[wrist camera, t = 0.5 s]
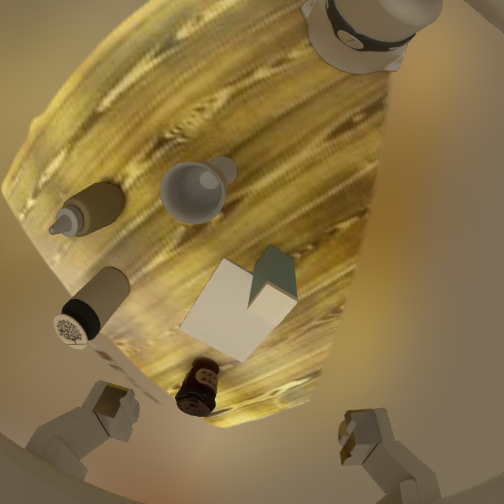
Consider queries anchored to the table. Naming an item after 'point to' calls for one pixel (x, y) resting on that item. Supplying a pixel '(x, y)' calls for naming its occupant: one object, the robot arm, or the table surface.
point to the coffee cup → (199, 388)
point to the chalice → (197, 189)
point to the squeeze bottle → (89, 210)
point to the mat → (227, 314)
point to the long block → (273, 286)
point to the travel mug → (91, 308)
